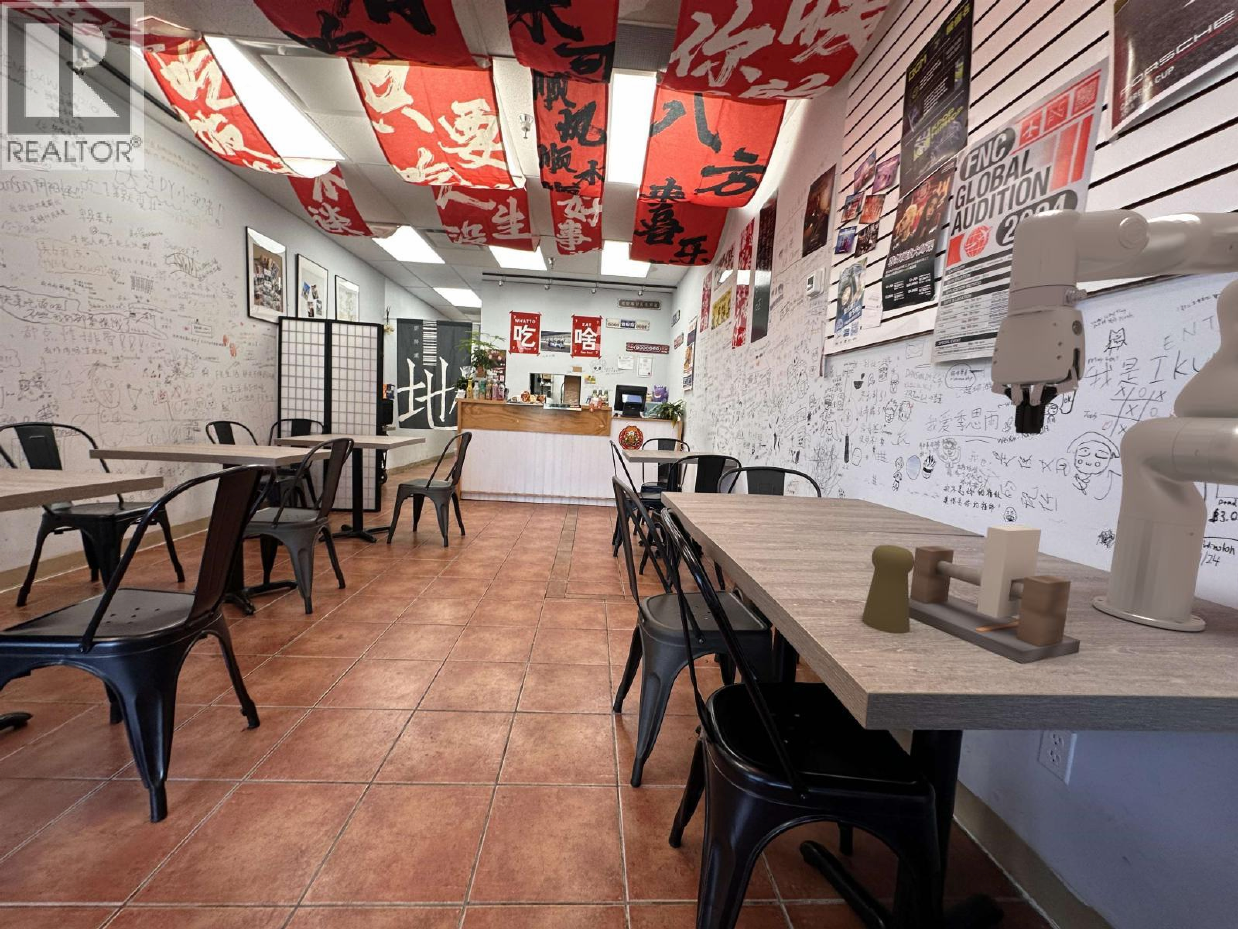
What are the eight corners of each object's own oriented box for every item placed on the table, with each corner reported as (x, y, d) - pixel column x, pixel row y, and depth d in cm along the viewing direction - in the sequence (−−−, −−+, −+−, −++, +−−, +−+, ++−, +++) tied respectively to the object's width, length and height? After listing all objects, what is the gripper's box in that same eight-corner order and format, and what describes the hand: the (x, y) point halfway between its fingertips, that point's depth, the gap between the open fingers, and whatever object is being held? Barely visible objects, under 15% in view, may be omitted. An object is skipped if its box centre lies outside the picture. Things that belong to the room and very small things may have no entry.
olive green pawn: (914, 636, 69) (924, 554, 68) (864, 628, 71) (872, 548, 70) (905, 620, 75) (914, 545, 74) (859, 613, 77) (867, 539, 76)
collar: (1009, 606, 73) (1020, 525, 72) (1029, 613, 70) (1041, 529, 69) (977, 611, 70) (987, 526, 69) (996, 618, 68) (1008, 530, 67)
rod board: (944, 603, 84) (951, 544, 83) (1078, 651, 67) (1089, 579, 67) (891, 609, 79) (898, 547, 78) (1021, 663, 63) (1031, 586, 62)
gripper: (1120, 297, 69) (1105, 435, 71) (1001, 315, 83) (991, 431, 85) (1088, 291, 67) (1073, 435, 68) (970, 311, 80) (960, 431, 82)
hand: (1028, 433), depth 77 cm, fingers closed
